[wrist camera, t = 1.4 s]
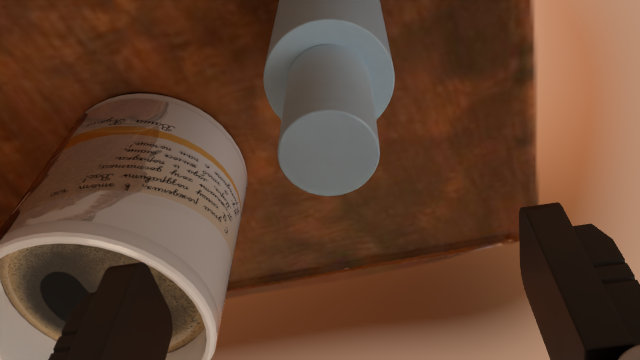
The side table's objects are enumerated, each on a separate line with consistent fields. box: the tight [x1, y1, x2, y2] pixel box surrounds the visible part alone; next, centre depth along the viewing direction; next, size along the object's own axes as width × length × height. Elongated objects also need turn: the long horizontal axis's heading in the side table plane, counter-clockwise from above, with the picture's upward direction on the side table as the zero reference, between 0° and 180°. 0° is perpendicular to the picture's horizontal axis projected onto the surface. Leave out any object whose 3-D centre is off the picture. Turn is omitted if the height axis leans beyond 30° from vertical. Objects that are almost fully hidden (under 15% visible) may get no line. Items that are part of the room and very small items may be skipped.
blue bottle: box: [264, 0, 395, 196], centre depth 22 cm, size 4×4×13 cm
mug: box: [0, 93, 247, 360], centre depth 28 cm, size 10×12×11 cm
